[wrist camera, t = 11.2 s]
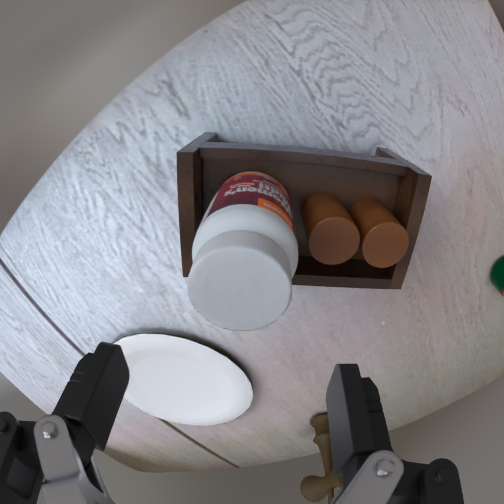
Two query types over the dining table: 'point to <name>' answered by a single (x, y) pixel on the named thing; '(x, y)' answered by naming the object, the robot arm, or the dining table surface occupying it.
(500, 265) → the soda can
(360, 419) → the robot arm
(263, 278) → the pill bottle
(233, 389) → the plate
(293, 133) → the dining table surface
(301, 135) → the dining table surface
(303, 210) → the spice rack
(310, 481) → the kendama
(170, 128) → the dining table surface
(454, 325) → the dining table surface
